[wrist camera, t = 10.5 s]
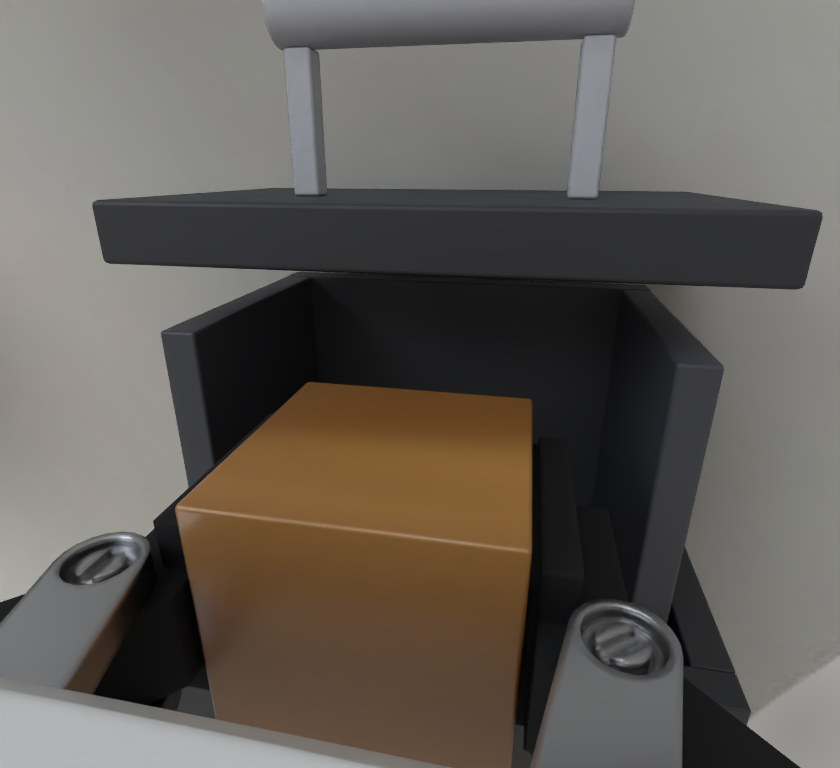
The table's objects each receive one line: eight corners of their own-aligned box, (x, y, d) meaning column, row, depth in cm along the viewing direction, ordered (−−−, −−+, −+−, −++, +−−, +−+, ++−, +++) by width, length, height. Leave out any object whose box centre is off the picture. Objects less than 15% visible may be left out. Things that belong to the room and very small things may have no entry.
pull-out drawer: (257, 32, 16) (29, -82, 9) (719, 11, 14) (928, -166, 6) (306, 554, 23) (201, 731, 16) (617, 596, 21) (662, 825, 13)
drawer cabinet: (291, 428, 22) (123, 608, 13) (651, 462, 19) (752, 711, 10) (317, 705, 28) (214, 961, 19) (597, 757, 25) (632, 1080, 16)
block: (307, 380, 11) (172, 505, 7) (533, 397, 10) (533, 551, 6) (321, 559, 13) (219, 747, 8) (516, 586, 12) (507, 808, 8)
